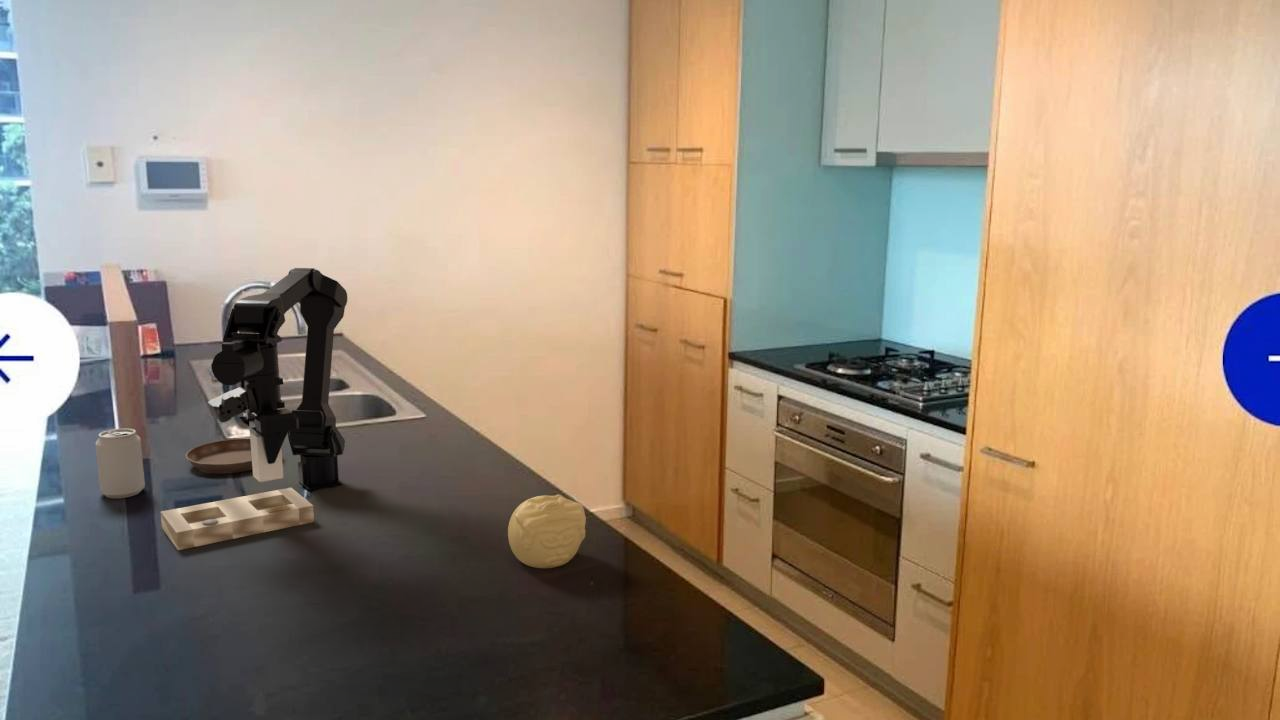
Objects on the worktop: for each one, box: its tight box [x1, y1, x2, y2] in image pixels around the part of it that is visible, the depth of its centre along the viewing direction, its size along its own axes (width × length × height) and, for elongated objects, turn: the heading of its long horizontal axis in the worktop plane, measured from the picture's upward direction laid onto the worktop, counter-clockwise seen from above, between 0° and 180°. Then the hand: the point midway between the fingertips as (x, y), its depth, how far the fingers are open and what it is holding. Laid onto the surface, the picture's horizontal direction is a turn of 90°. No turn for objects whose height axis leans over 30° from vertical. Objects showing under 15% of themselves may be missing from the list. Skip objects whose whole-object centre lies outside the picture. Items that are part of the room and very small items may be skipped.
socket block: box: [160, 487, 315, 551], centre depth 170 cm, size 22×12×3 cm, turn 127°
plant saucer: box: [185, 438, 253, 474], centre depth 205 cm, size 18×18×3 cm
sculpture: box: [507, 493, 587, 569], centre depth 155 cm, size 11×12×11 cm
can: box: [94, 428, 146, 499], centre depth 185 cm, size 8×8×12 cm
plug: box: [248, 420, 284, 483], centre depth 171 cm, size 4×4×10 cm
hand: (267, 460), depth 171 cm, fingers closed on plug, 4 cm apart
